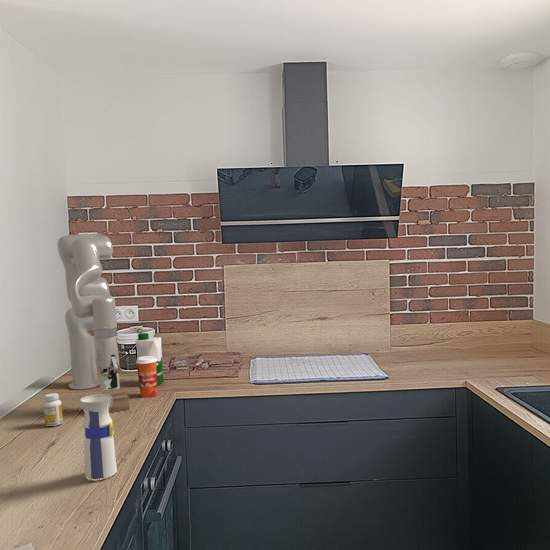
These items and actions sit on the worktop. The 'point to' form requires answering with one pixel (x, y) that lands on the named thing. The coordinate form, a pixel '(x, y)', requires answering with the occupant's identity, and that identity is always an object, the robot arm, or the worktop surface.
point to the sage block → (103, 378)
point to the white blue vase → (98, 435)
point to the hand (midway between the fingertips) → (109, 386)
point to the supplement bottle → (53, 409)
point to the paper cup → (147, 375)
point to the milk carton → (151, 351)
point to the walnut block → (119, 401)
